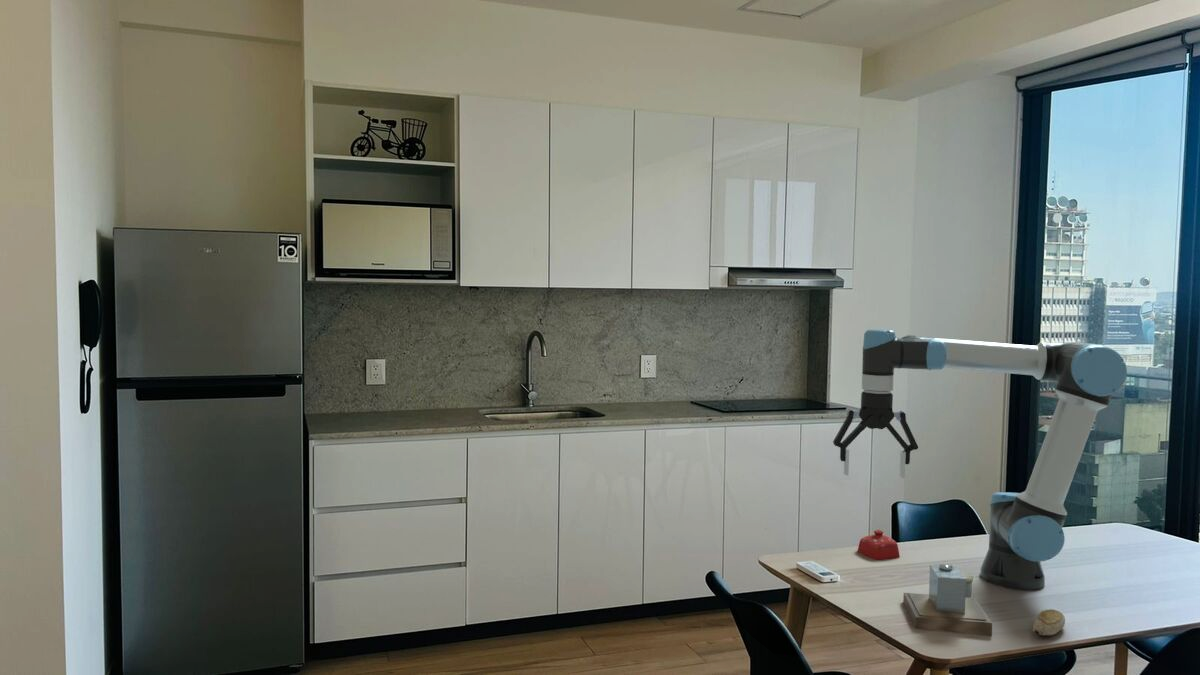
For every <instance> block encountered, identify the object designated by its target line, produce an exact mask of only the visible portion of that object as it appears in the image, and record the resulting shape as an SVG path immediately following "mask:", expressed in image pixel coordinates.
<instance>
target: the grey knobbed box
mask: <svg viewBox="0 0 1200 675" xmlns="http://www.w3.org/2000/svg"><path fill="white" fill-rule="evenodd" d="M961 572H962V571H961V570H960V569H959V567H958V566H953V565H952V564H948V563H940V564H939V565H938V564H937V565H936V564H930V565H929V581H928V582H929V586H928V587H929V588H928V594H929V600H930V601H931V603H932V605H933V607H934V608H935V610H936V612H941V613H954V614H965V599H966V578H965V577H964V575H963V574H962V573H963V572H962V573H961Z"/></svg>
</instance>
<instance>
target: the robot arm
mask: <svg viewBox="0 0 1200 675" xmlns="http://www.w3.org/2000/svg"><path fill="white" fill-rule="evenodd" d="M863 335H864V336H863V344H862V345H863V346H862V368H861V369H862V371H861V372H862V373H861V374H862V375H861V389H862V390H863V391H862V392H861V393H860V394H861V395H860V396H861V398H860V401H861V402H860V409H859V410H853V409H852V408H849V409H847V414H846V418H845V420H844V421H843V423H842V425H841V427H840V428H839V431H838V432H837V433H836V435H835V438H834V439H833V442H832V443H833V445H834V446H835V447H838V448H839V450H840V453H839V460H840V462H843V474H844V475H845V476H849V470H850V469H849V468H850V467H849V464H850V449H849V446H850V444H852V442H853V441H854V440H855V439H856V438H857V437H858V436H859V435H860V434H861V433H862V432H863V431H864V430H865V429H866V428H868V429H871V430H874V429H879V430H883V429H885V428H886V429H887V430H888V431H889V432H890V434H891V435H892V436H893V437H894V439H895V440H896V441H897V442H898V444H900V446H901V447H902V448H903V449H901V450H900V454H899V456H900V457H899V459H900V460H899V477H900V478H901V479H905V478H906V465H909V464H910V460H911V451H915V450H918V449H919V446H918V443H917V440H916V439H915V436H914V435H913V433H912V430H911V429H910V426H909V424H908V422H907V416H906V413H905V412H904V411H902V410H900V411H895V412H894V411H893V402H894V400H893V398H894V396H893V393H892V391H894V373H895V372H894V371H895V369H906V370H907V369H908V370H928V371H933V370H934V371H935V370H943V369H944V368H945V369H956V370H970V371H979V372H991V373H1004V374H1011V375H1012V374H1014V375H1025V376H1033V377H1034V378H1035V379H1036V380H1039V381H1045V382H1046V381H1048V382H1053V383H1056V387H1055V390H1054V391H1055V393H1056V395H1057V397H1058V401H1057V404H1056V408H1055V410H1054V412H1053V415H1052V418H1051V421H1050V423H1049V425H1048V429H1047V432H1046V434H1045V436H1044V440H1043V442H1042V445H1041V447H1040V450H1039V452H1038V456H1037V459H1036V461H1035V464H1034V465H1033V466H1034V467H1033V469H1032V473H1031V475H1030V477H1029V480H1028V483H1027V485H1026V488H1025V490H1024V491H1022V492H1009V491H1008V492H1006V491H1005V492H1003V491H1002V492H1001V491H999V492H994V493H993V494H991V496H990V502H989V507H990V509H989V530H988V531H989V533H988V534H989V536H988V539H989V540H988V550H987V552H986V554H985V557H984V560H983V562H982V564H981V567H980V577H981V578H982V580H984V581H986V582H987V583H989V584H991V585H994V586H997V587H1001V588H1005V589H1010V590H1017V591H1019V590H1020V591H1034V590H1039V589H1042V588H1044V587H1045V580H1046V578H1045V574H1044V570H1043V566H1042V564H1041V563H1042V562H1046V561H1049V560H1051V559H1053V558H1055V557H1056V556H1058V555H1059V554H1060V553H1061V551H1062V550H1063V548H1064V546H1065V540H1066V538H1065V533H1064V530H1063V527H1064V523H1065V522H1066V519H1067V515H1068V512H1067V510H1066V508H1065V506H1064V502H1065V500H1066V497H1067V495H1068V493H1069V490H1070V487H1071V484H1072V481H1073V479H1074V476H1075V474H1076V472H1077V471H1076V470H1077V468H1078V466H1079V463H1080V460H1081V457H1082V455H1083V452H1084V449H1085V448H1086V447H1085V446H1086V444H1087V440H1089V439H1088V438H1089V436H1090V433H1091V431H1092V427H1093V426H1094V425H1093V424H1094V423H1095V420H1096V417H1097V416H1098V412H1099V411H1101V410H1103V409H1106V408H1107V407H1108V406H1109V404H1110V401H1111V398H1112V395H1113V394H1115V393H1116V392H1118V391H1119V390H1121V388H1122V387H1123V386H1124V384H1125V383H1126V379H1127V375H1128V374H1127V373H1128V370H1127V365H1126V362H1125V360H1124V358H1123V357H1122V356H1121V354H1120V353H1119V352H1118V351H1116V350H1115V349H1113V348H1111V347H1109V346H1106V345H1104V344H1099V343H1089V342H1086V341H1085V342H1083V341H1071V342H1069V341H1068V342H1038V344H1036V345H1029V344H1017V343H1016V344H1015V343H1002V342H991V341H979V340H965V339H964V340H963V339H951V338H938V337H925V336H916V335H906V336H902V337H900V338H899V337H896V331H894V330H890V329H868V330H866V331H865V332H864V334H863ZM857 417H859V418H860V419H861V421H860V422H859V423H858V424H857V425H856V427H855V428H854V429H853V430H852V431H851V432H850V433H849V434H848V435H847V436H846V437H845V434H847V431H848V429H849V428H850V425H851V424H852V423H853V420H855V419H856V418H857ZM894 418H895V419H896V420H897V421H898V422H899V423H900V425H901V427H902V429H903V432H904V434H905V436H906V438H907V441H908V442H909V444H907V442H906V441H905V439H903V438H902V437H901V435H900V434H899V432H898V431H897V430H896V429H895V428H894V426H893V425H892V424H891V422H892V421H893V419H894ZM843 438H844V439H843ZM842 440H843V441H842Z"/></svg>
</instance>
